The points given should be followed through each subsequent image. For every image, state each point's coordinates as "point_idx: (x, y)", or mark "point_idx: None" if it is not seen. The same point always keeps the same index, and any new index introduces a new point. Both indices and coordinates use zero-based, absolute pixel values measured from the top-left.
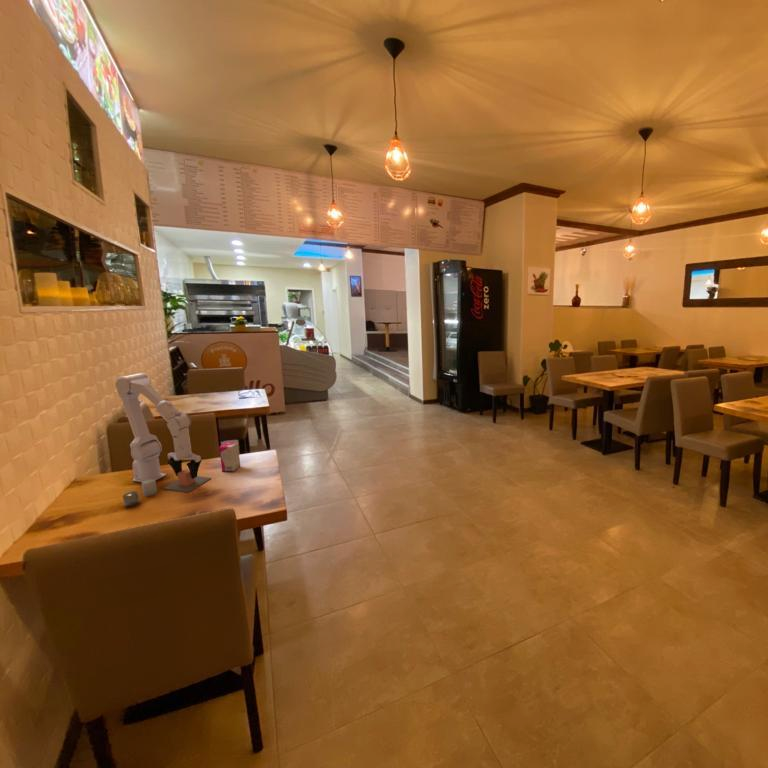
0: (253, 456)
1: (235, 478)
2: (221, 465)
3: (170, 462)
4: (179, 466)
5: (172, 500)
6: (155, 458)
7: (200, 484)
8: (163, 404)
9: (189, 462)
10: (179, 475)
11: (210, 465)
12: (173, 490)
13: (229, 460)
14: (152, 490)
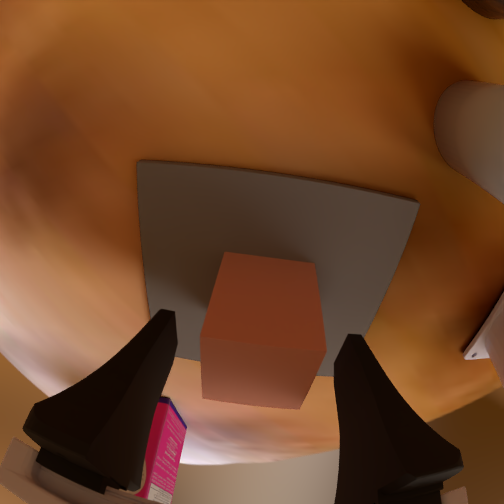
0: None
1: (57, 341)
2: (161, 428)
3: (423, 473)
4: (349, 428)
5: (178, 20)
6: None
7: (146, 283)
8: None
9: (93, 469)
10: (298, 330)
11: (280, 433)
12: (309, 178)
13: None
14: (462, 102)
